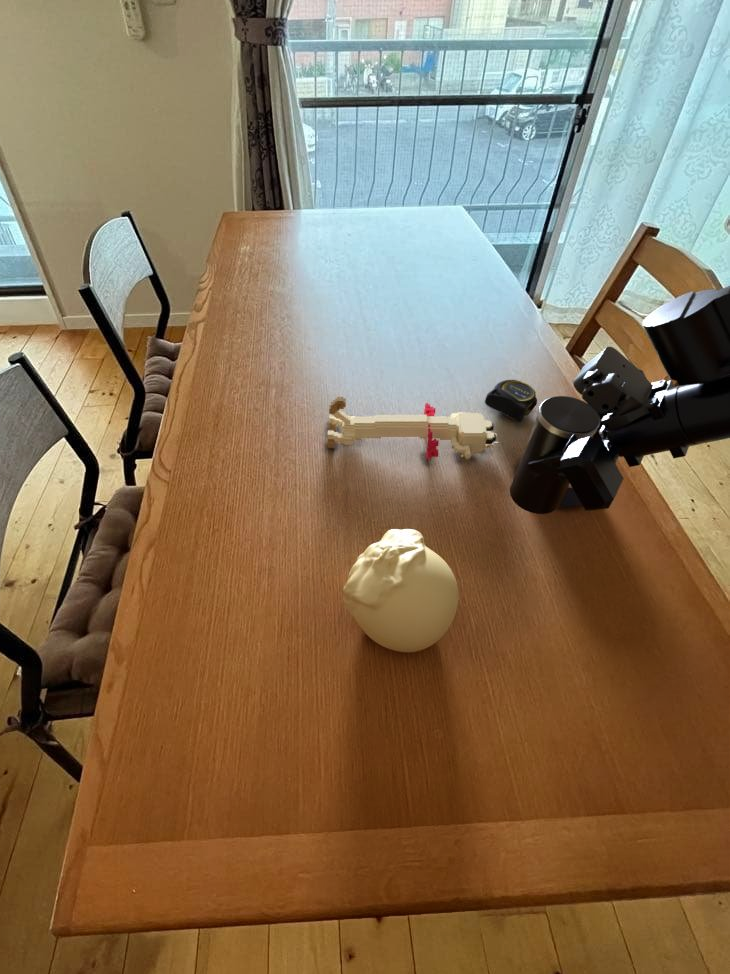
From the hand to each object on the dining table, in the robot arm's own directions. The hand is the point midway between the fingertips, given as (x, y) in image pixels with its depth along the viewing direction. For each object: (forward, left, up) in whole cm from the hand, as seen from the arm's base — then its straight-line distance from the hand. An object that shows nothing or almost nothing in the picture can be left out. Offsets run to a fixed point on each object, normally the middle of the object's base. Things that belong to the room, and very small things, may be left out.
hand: (540, 451), depth 64 cm
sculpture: (+8, +20, -14) cm, 25 cm away
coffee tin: (-3, -11, -14) cm, 18 cm away
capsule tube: (-1, 0, -7) cm, 7 cm away
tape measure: (+7, -23, -14) cm, 28 cm away
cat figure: (+18, -8, -14) cm, 24 cm away
